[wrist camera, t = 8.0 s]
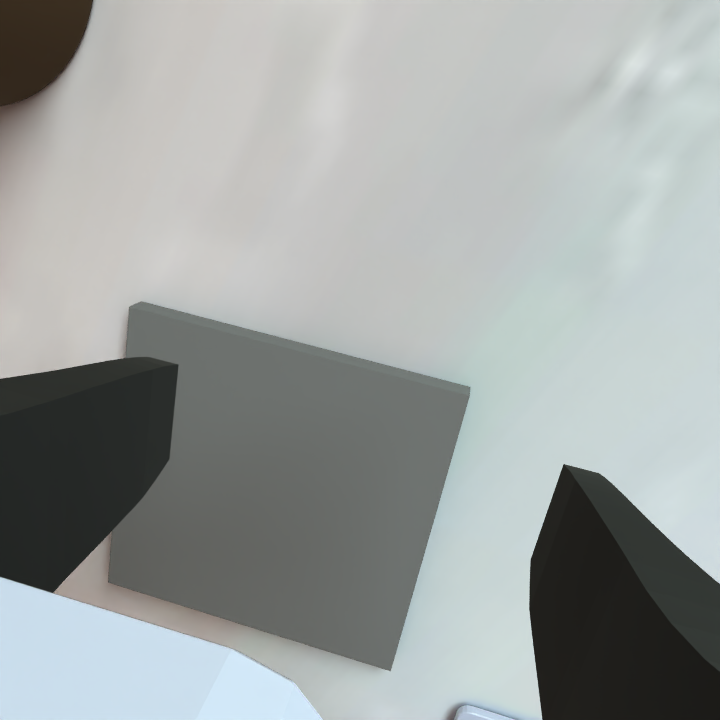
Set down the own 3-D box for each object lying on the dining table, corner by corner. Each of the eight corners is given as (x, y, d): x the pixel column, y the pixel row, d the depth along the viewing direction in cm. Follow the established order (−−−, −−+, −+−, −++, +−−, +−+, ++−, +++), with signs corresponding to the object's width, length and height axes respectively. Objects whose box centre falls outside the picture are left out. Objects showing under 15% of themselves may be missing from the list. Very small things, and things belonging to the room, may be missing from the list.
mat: (393, 655, 26) (390, 671, 25) (118, 570, 28) (108, 582, 27) (470, 387, 22) (469, 395, 21) (141, 301, 23) (129, 306, 23)
